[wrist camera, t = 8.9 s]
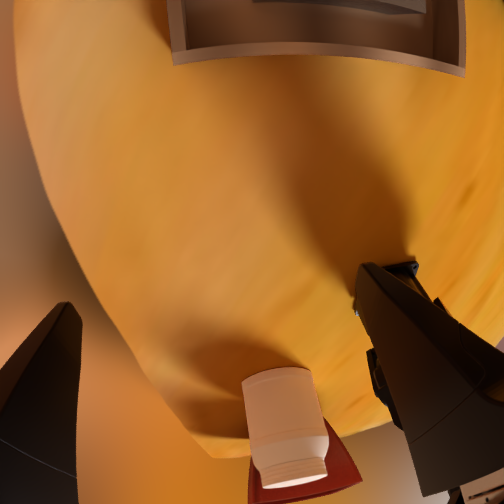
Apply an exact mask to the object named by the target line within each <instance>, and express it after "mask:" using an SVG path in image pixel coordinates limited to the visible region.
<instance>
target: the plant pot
mask: <svg viewBox="0 0 504 504" xmlns="http://www.w3.org/2000/svg"><path fill="white" fill-rule="evenodd" d="M323 420H324V423H325V427H326V429H327V432H328V436H329V446H328V450H327V453H326V456H325V458H324V462H325V466H326V471H327V474H328V475H327V476H325V477H323V478H321V479H318V480H315V481H311V482H307V483H303V484H299V485H294V486H288V487H281V488H268V489H267V488H263V487H262V482H261V480H262V479H261V475H260V472H259V470H257V468H256V467H255V466H254V463H253V459H252V455H251V460H250V469H249V480H248V504H286V503H292V502H298V501H303V500H308V499H313V498H317V497H321V496H325V495H329V494H333V493H336V492H338V491H341V490H344V489H346V488H348V487H351V486H353V485H355V484H358V483H360V482H362V481H363V480H362V478H361V475H360V473H359V471H358V469H357V467H356V465H355V463H354V461H353V460H352V458H351V456H350V455H349V453H348V451H347V449H346V448H345V446H344V445H343V443H342V442H341V440H340V438H339V437H338V435H337V434H336V433H335V431H334V430H333V428H332V427H331V426H330V424H329V423H328V422H327V421H326V419H325V418H324V417H323Z"/></svg>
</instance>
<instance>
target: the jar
mask: <svg viewBox="0 0 504 504" xmlns="http://www.w3.org/2000/svg"><path fill="white" fill-rule="evenodd" d="M242 390H243V394H244V402H245V409H246V417H247V424H248V431H249V438H250V449H251V455H252V459H253V463H254V466H255V467H256V468H257V470H259V472H260V475H261V479H262V480H261V482H262V487H263V488H267V489H268V488H281V487H288V486H294V485H299V484H303V483H307V482H311V481H315V480H318V479H321V478H323V477H325V476H327V475H328V474H327V471H326V466H325V462H324V458H325V456H326V453H327V450H328V446H329V436H328V432H327V429H326V427H325V423H324V420H323V416H322V412H321V408H320V405H319V401H318V397H317V394H316V390H315V386H314V383H313V377H312V373H311V371H309V370H307V369H304V368H298V367H283V368H275V369H270V370H266V371H263V372H259V373H257V374H254V375H252V376H250V377H248V378H246V379H245V380H244V381H242Z"/></svg>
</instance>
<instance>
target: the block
mask: <svg viewBox="0 0 504 504" xmlns="http://www.w3.org/2000/svg"><path fill="white" fill-rule="evenodd" d="M252 2H253V3H260V2H286V3H309V4H322V5H332V6H340V7H348V8H355V9H361V10H367V11H372V12H378V13H383V14H387V15H399V14H426V1H425V0H252Z"/></svg>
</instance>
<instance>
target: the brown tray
mask: <svg viewBox="0 0 504 504" xmlns="http://www.w3.org/2000/svg"><path fill="white" fill-rule="evenodd" d="M425 1H426V14H399V15H387V14H383V13H378V12H372V11H367V10H361V9H355V8H348V7H340V6H332V5H322V4H309V3H286V2H260V3H253V2H252V0H166V3H167V13H168V23H169V32H170V41H171V49H172V57H173V65H180V64H186V63H192V62H198V61H206V60H213V59H222V58H232V57H244V56H259V55H329V56H345V57H356V58H366V59H374V60H382V61H389V62H395V63H401V64H407V65H412V66H418V67H422V68H427V69H432V70H436V71H440V72H444V73H448V74H452V75H456V76H459V77H463V78H465V63H466V20H465V3H464V0H425Z"/></svg>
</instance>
